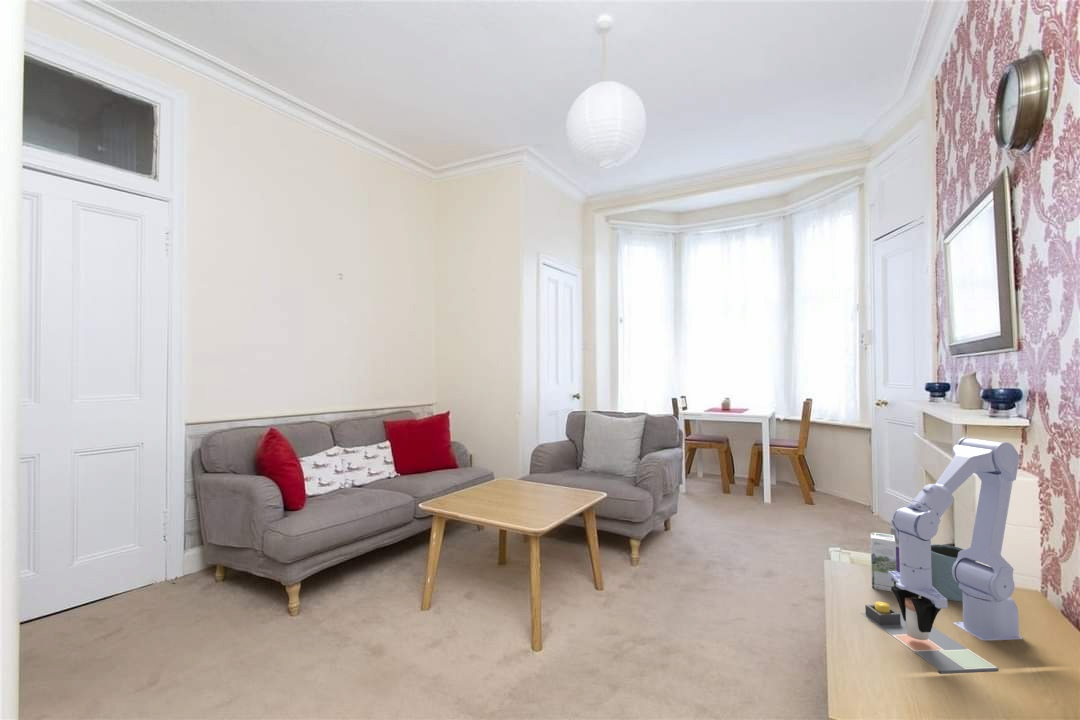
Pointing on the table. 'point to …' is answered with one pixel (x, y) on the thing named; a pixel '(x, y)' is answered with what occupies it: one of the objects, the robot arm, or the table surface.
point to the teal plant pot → (945, 571)
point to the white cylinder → (913, 621)
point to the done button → (882, 607)
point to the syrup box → (882, 560)
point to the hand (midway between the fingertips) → (916, 626)
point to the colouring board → (940, 650)
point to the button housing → (883, 616)
